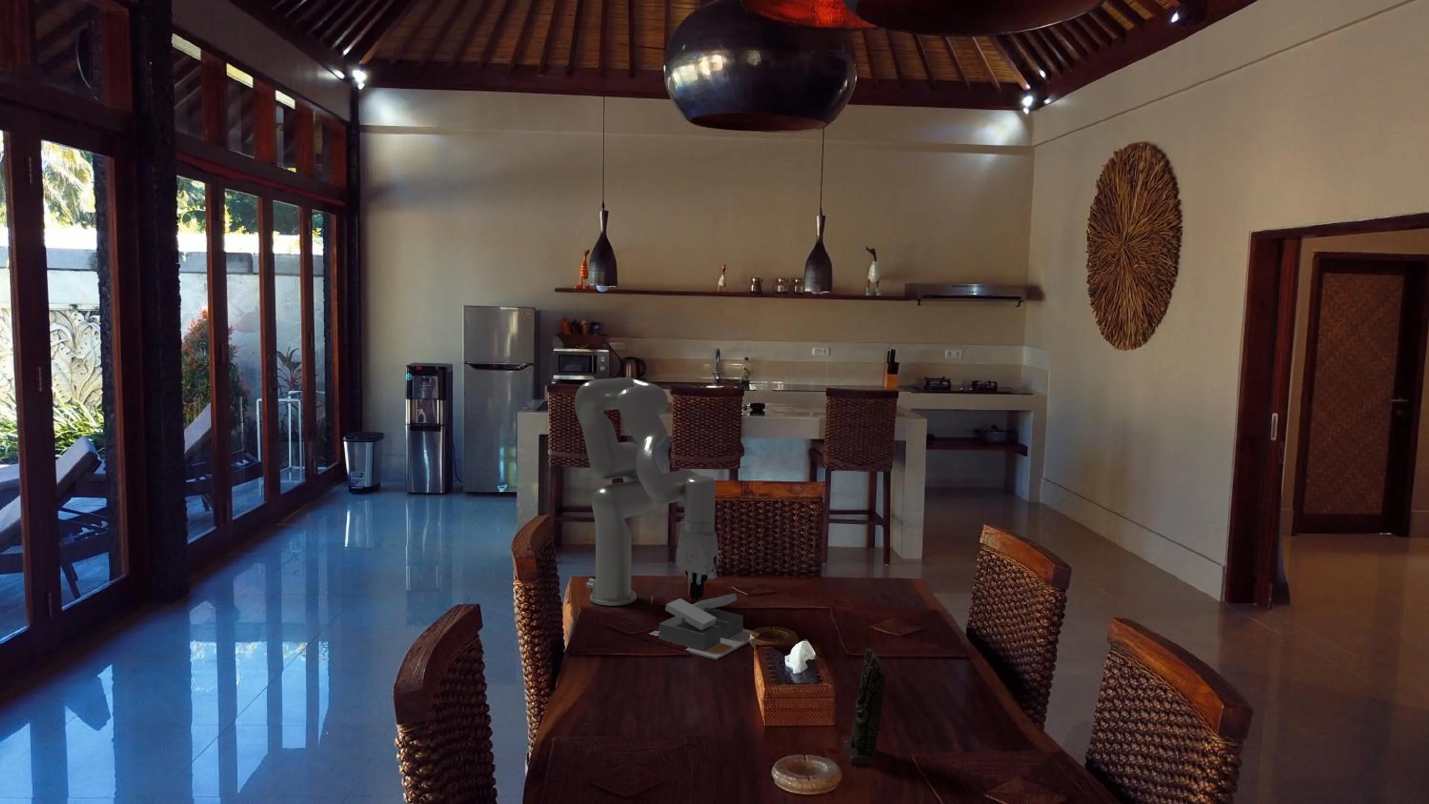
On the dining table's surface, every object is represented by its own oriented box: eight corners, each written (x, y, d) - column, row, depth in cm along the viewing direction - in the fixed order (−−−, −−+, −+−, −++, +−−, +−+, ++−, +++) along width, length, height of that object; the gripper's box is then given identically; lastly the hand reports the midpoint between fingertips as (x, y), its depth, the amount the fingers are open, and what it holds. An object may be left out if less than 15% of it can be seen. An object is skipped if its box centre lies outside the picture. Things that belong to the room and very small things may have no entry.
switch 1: (664, 612, 237) (666, 604, 236) (678, 606, 241) (680, 598, 241) (701, 632, 231) (703, 624, 230) (714, 625, 236) (716, 617, 235)
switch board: (640, 639, 239) (640, 621, 238) (688, 617, 255) (688, 600, 255) (716, 659, 226) (716, 640, 226) (761, 635, 243) (761, 617, 243)
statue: (841, 747, 184) (845, 644, 182) (879, 746, 185) (883, 643, 182) (849, 765, 177) (853, 657, 175) (888, 764, 178) (893, 657, 176)
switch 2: (690, 615, 245) (687, 606, 245) (703, 609, 250) (700, 600, 250) (725, 607, 239) (722, 598, 239) (737, 601, 243) (735, 593, 244)
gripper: (665, 524, 246) (663, 595, 248) (715, 534, 237) (713, 608, 240) (683, 518, 252) (681, 588, 254) (732, 528, 244) (730, 600, 246)
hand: (696, 597), depth 247 cm, fingers closed
